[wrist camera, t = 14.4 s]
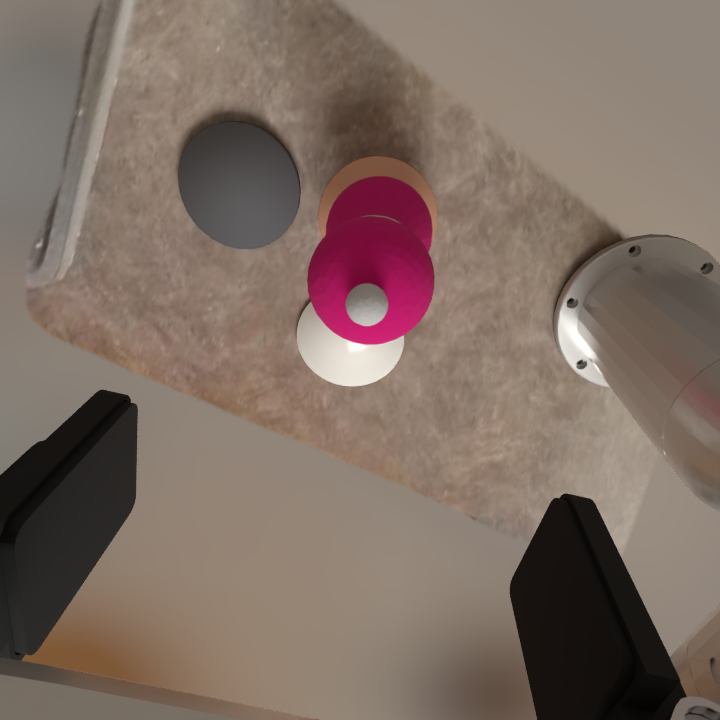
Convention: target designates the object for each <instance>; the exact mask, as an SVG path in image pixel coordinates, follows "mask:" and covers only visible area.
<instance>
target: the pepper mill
mask: <svg viewBox="0 0 720 720" xmlns="http://www.w3.org/2000/svg"><path fill="white" fill-rule="evenodd" d="M432 232H433V228H432V219H431V215H430V212H429V209H428V207H427V205H426V203H425V201H424V200H423V198H422V197H421V195H420V194H419V193H418V192H417V191H416V190H415V189H414V188H412V187H411V186H410V185H408V184H407V183H405V182H403V181H401V180H398V179H395V178H392V177H386V176H373V177H368V178H364V179H361V180H358V181H356V182H355V183H353V184H351V185H349V186H348V187H347V188H346V189H344V190H343V191H342V192H341V194H340V195H339V196H338V197H337V198H336V200H335V201H334V203H333V205H332V207H331V209H330V212H329V215H328V219H327V223H326V236H325V237H324V238H323V239H322V240H321V242H320V243H319V244H318V246H317V248H316V250H315V252H314V254H313V256H312V258H311V261H310V265H309V269H308V279H307V282H308V293H309V297H310V300H311V303H312V305H313V307H314V310H315V312H316V314H317V315H318V317H319V318H320V319H321V320H322V322H323V323H324V324H325V325H326V326H327V327H328V328H329V329H330V330H331V331H332V332H333V333H335V334H337V335H338V336H340V337H342V338H343V339H346V340H349V341H351V342H354V343H359V344H364V345H377V344H383V343H386V342H390V341H393V340H396V339H398V338H399V337H401V336H403V335H405V334H406V333H407V332H409V331H410V330H411V329H413V328H414V327H415V326H416V325H417V324H418V323H419V321H420V320H421V319H422V318H423V316H424V315H425V313H426V311H427V309H428V307H429V305H430V302H431V300H432V295H433V290H434V268H433V264H432V261H431V258H430V256H429V254H428V252H429V250H430V247H431V241H432Z"/></svg>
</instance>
